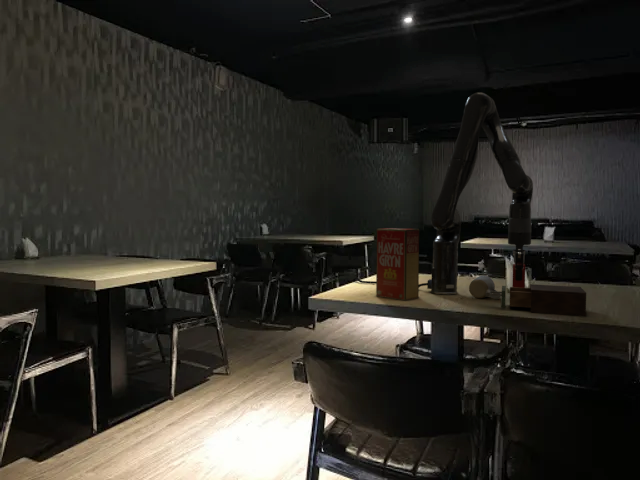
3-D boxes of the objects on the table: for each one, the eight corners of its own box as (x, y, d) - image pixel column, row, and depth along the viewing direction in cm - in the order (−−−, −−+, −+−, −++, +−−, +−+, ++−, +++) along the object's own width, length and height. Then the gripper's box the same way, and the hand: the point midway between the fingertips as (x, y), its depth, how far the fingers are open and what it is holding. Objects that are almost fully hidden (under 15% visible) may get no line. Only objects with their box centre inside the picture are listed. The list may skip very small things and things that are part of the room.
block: (512, 293, 172) (513, 264, 172) (512, 291, 176) (512, 263, 175) (524, 294, 171) (525, 265, 170) (524, 292, 175) (525, 264, 174)
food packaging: (374, 296, 180) (375, 228, 179) (389, 293, 187) (390, 227, 186) (405, 301, 171) (406, 229, 170) (419, 297, 178) (421, 228, 176)
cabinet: (530, 312, 153) (531, 289, 152) (529, 305, 164) (529, 284, 164) (585, 316, 147) (586, 292, 147) (579, 308, 159) (580, 286, 158)
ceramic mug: (467, 297, 178) (468, 276, 177) (473, 294, 184) (474, 274, 184) (497, 301, 172) (498, 279, 171) (503, 298, 179) (504, 277, 178)
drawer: (484, 305, 158) (485, 289, 158) (486, 300, 169) (486, 284, 168) (549, 310, 151) (550, 293, 151) (546, 304, 162) (547, 288, 161)
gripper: (508, 230, 180) (507, 276, 181) (508, 231, 167) (507, 281, 168) (530, 230, 178) (529, 277, 178) (532, 231, 164) (531, 282, 165)
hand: (518, 279), depth 173 cm, fingers closed on block, 4 cm apart
